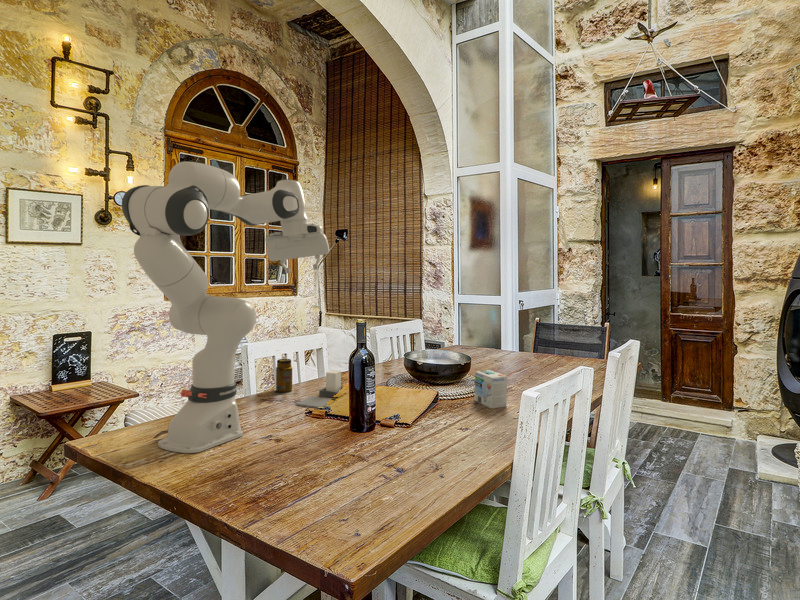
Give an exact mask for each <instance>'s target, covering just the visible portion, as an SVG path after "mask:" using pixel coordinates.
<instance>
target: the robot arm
mask: <svg viewBox="0 0 800 600" xmlns="http://www.w3.org/2000/svg"><path fill="white" fill-rule="evenodd" d="M167 180H168V181H167V182H168V184H167V185H165V186H163V185H147V184H145V185H144V184H143V185H142V184H141V185H136V186H134V187H131V188H130V189H128V190H126V192H125V193H124V194H123V196H122V200H121V210H122V213H123V216H124V218H125V220H126V221H127V223H128V224H129V225H128V226H129V230H130V231H131V232H132V234H134V235H136V236H138V239H137V240H136V242H135V243H134V246H133V254H134V256H135V259H136V261H137V262H138V264H139V266H140V268H142V270H143V271H144V273H145V275H146V276H147V277H148V278H149V279H150V280H151V282H152V283H153V284H154V285H155V286H156V287H157V289H159V291H161V293H162V294H163V295H164V296H165V297H166V298H167V300H168V301H169V302H170V304H171V305H170V308H169V311H168V317H169V318H168V319H169V322H170V324H171V326H172V327H173V328H174V329H175V330H177V331H180V332H182V333H187V334H190V335H199V336H200V335H201V336H202V335H203V336H206V343H205V346H204V348H203V349H201V350H199V351H197V353H195V354H194V356H193V358H192V362H191V363H192V364H191V365H192V366H191V367H192V384H191V386H190V389H184V388H183V389H181V391H180V396H181V397H182V398H187V401H186V402H185V404H183V406H182V407H181V408H180V409H179V411H178V412H177V413H176V414H175V415H174V416H173V417H172V418H171V420H169V421H170V422H169V425H168V429H167V436H165V437H164V438H162V439H160V440H159V441H158V443H157V445H158V447H159V448H161V449H163V450H166V451H171V452H175V453H184V454H192V453H193V454H194V453H200V452H203V451H206V450H208V449H212V448H214V447H217V446H219V445H221V444H226V443H228V442H229V441H232V440H236V439H238V438H241V437H243V436H244V433H243V432H244V431H243V430H242V427H241V424H240V416H239V415H240V414H239V407H238V406H239V405H238V404H237V399H236V395H237V389H238V387H237V382H236V381H235V366H236V365H235V361H236V354H237V350H238V348H239V345H240V343H241V342H242V340H243V339H244V338H245V337H246V336H247V335H248V334H249V333H250V332H251V331H252V330H253V329H254V327H255V324H256V321H257V312H256V309H255V307H254V306H253V305H254V304H252V303H251V302H250V301H247V300H245V299H242V298H237V297H233V296H215V295H214V296H213V295H210V294H208V293H207V292H208V288H209V278H208V274H206V273H205V271H204V270H203V268H202V267H200V265H199V264H198V263H197V261H196V259H194V257H193V256H192V255H191V254H190V252H189V251H188V250H187V249H186V248H185V247H184V244H183V242H182V240H181V237H186V236H195V235H198V234H200V233H202V231H204V229H205V228H206V226H207V224H208V221H209V216H210V210H214V211H217V212H220V213H223V214H227V215H230V216H233V217H235V218H237V219H238V220H240V222H242V223H243V224H245V225H247V226H248V227H249V226H250V227H254V226H257V225H263V224H269V223H275V222H279V221H280V226H281V227H280V228H281V231H279V232H271V233H270V232H269V234H267V235H266V236H265V239H264V240H265V245H266V247H267V257H268V260H269V261H270V262H276V261H278V262H279V263H280V265H281V267H282V268H283V269H284V272H285V274H291V272H292V271H291V267H288V266H287V265H286V263H287V262H286V261H287V260H292V259H299V258H300V259H301V258H307V257H314V259H315V263H313V264H312V267H313V270H314V271H315V270H319V263H320V260H321V256H323V255H328V254H329V253H330V245H329V241H328V238H327V236H326V234H325V233H323V231H324V229H323V226H322V225H318V224H315V223H309V220H308V216H307V215H306V202H305V197H304V196H305V195H304V191H303V188H302V186H301V184H300V182H299V181H297V180H295V179H280V180H278V181H277V182H276V185H275V187H272V188H271V189H269V190H265V191H260V192H256V193H248V194H243V195H241V187H240V183H239V181H238V179H237V177H236V176H235V175H234V174H232V173H231V172H229V171H228V170H225V169H222V168H219V167H216V166H214V165H210V164H206V163H201V162H197V161H196V162H195V161H180V162H177V164H175V165H173V167H172V168H171V169H170V171H169V173H168V179H167Z"/></svg>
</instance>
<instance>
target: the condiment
mask: <svg viewBox="0 0 800 600" xmlns="http://www.w3.org/2000/svg"><path fill="white" fill-rule="evenodd" d="M294 390H295V389H294V387H293V366H292V359H291V358H279V359H277V361H276V367H275V387H274V389H273V395H294V394H295V391H294Z"/></svg>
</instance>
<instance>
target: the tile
mask: <svg viewBox="0 0 800 600" xmlns="http://www.w3.org/2000/svg"><path fill="white" fill-rule="evenodd" d="M330 399H332V397H324V396H314V395H311V396H309V397H307V398H304V399H303V400H300V401H298V402H297V403H295V405H296V406H300V407H307V408H313V409H319V408H318V407H324V406H325V405H327V402H328V401H329V400H330ZM324 408H325V407H324Z"/></svg>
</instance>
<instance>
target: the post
mask: <svg viewBox="0 0 800 600" xmlns="http://www.w3.org/2000/svg"><path fill="white" fill-rule="evenodd" d="M325 387H326V391H332V392H338V391H339V390H341V387H342V371H340V370H333V369H331V370H329V371H326V372H325Z"/></svg>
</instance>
